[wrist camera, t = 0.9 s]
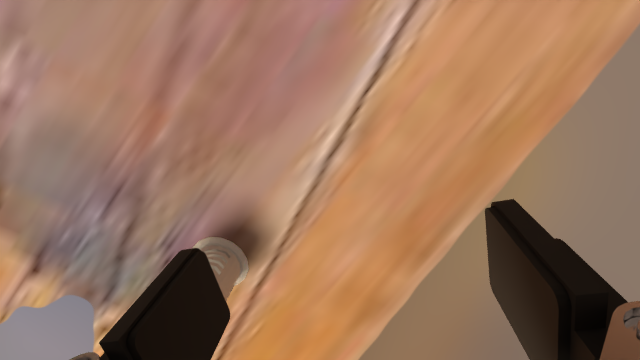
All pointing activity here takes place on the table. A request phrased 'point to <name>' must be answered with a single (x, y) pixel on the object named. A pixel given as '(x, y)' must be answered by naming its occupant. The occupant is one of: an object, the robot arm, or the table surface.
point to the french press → (225, 262)
